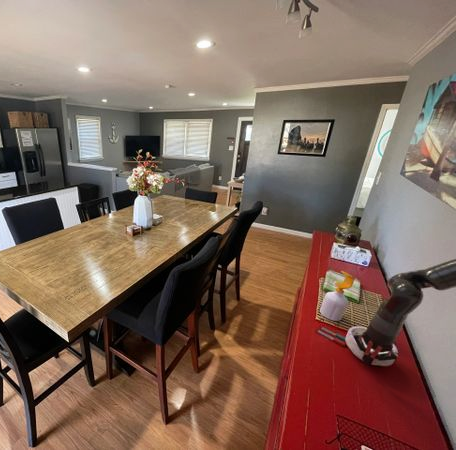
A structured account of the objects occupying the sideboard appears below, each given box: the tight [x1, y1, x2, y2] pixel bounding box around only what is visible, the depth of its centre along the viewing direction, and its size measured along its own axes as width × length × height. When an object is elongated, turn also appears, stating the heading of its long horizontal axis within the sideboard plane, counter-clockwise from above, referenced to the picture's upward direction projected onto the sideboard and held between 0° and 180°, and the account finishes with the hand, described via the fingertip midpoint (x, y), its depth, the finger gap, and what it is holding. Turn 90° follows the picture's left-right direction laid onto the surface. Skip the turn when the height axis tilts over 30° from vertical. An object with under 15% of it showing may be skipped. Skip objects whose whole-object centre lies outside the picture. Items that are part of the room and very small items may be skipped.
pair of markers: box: [317, 329, 346, 347], centre depth 105 cm, size 10×2×1 cm, turn 43°
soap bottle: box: [319, 270, 356, 322], centre depth 114 cm, size 9×9×25 cm
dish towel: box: [322, 269, 361, 304], centre depth 139 cm, size 17×23×4 cm
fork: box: [320, 326, 346, 343], centre depth 107 cm, size 9×2×1 cm, turn 43°
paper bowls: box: [345, 325, 399, 367], centre depth 96 cm, size 15×15×8 cm
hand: (365, 361), depth 91 cm, fingers closed
